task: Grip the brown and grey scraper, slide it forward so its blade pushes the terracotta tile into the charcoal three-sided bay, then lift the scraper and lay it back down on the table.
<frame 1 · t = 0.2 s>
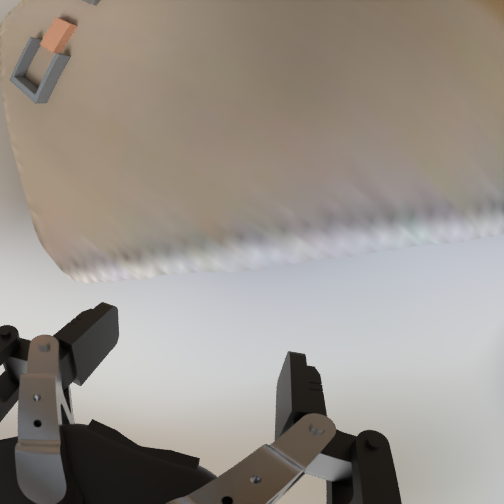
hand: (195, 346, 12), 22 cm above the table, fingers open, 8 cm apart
bay: (43, 66, 25), on the table
tile: (62, 36, 24), on the table
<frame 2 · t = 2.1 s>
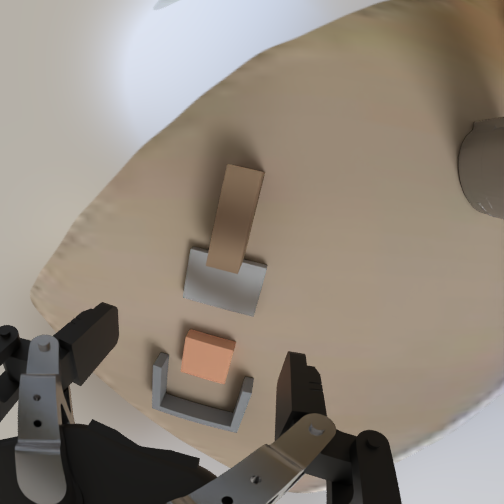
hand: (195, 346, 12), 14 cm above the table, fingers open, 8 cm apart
bay: (202, 386, 30), on the table
brown and grey scraper: (239, 213, 24), on the table
tile: (209, 351, 29), on the table
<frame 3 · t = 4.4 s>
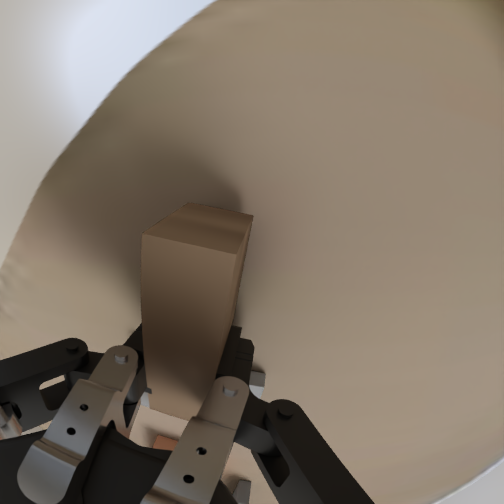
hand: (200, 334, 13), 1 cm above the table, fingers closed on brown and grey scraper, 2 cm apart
bay: (186, 482, 19), on the table
brown and grey scraper: (207, 296, 12), on the table, tilted 6°, touching gripper
tile: (189, 455, 17), on the table
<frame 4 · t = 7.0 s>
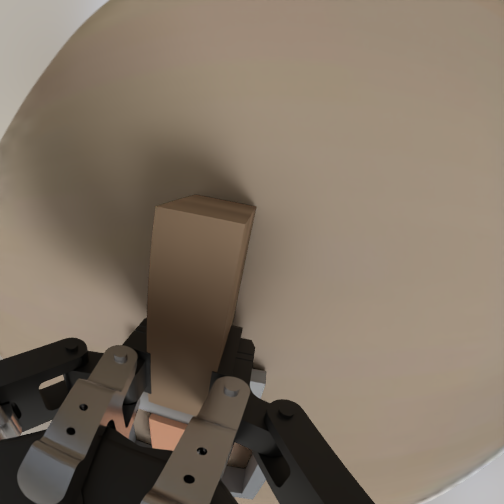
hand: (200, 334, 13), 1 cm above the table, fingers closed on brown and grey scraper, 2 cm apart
bay: (191, 435, 16), on the table
brown and grey scraper: (209, 288, 12), on the table, touching gripper
tile: (193, 428, 16), on the table
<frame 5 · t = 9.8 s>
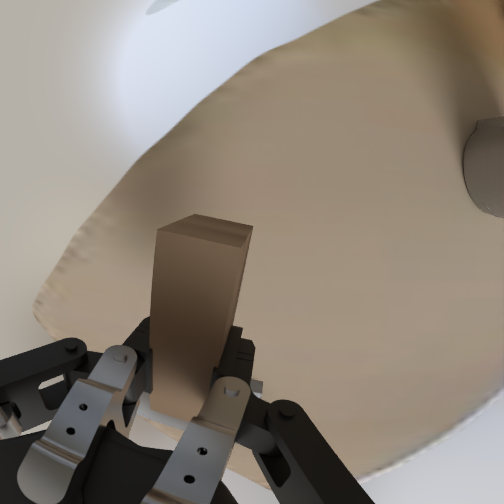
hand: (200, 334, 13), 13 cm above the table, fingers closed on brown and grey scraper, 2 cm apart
brown and grey scraper: (209, 303, 13), point 12 cm above the table, touching gripper
when the fingers open (2 cm above the table, at t = 11.8 s): brown and grey scraper drops 2 cm, on the table.
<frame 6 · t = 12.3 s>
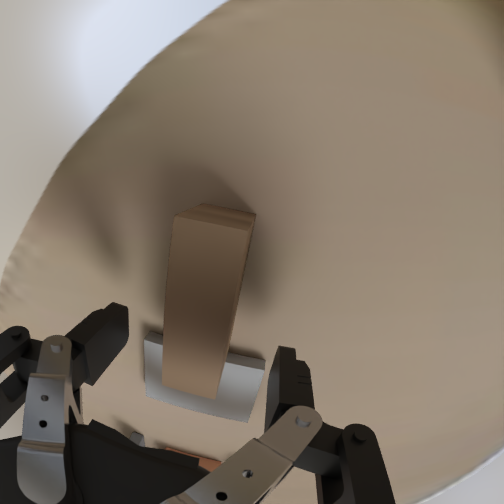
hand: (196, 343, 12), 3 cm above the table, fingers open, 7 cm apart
brown and grey scraper: (215, 285, 14), on the table
tile: (192, 463, 20), on the table
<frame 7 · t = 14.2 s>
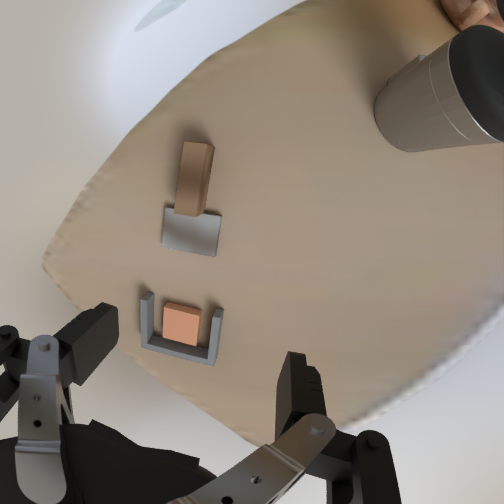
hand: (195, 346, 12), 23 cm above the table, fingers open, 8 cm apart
bay: (182, 322, 38), on the table
ceramic jug: (464, 20, 21), on the table
brown and grey scraper: (199, 178, 32), on the table
tile: (184, 320, 38), on the table
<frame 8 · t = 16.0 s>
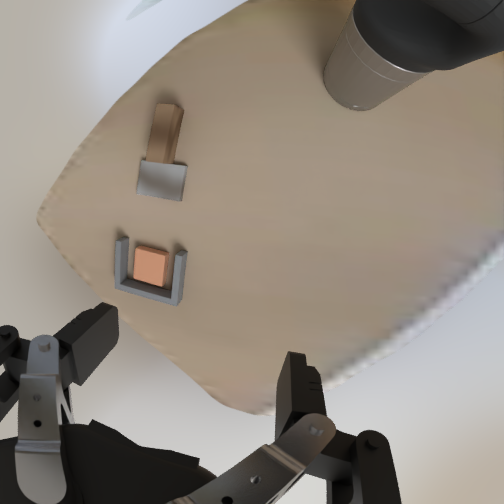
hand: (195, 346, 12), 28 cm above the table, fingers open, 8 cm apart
bay: (152, 265, 42), on the table
brown and grey scraper: (170, 136, 36), on the table
tile: (153, 263, 42), on the table
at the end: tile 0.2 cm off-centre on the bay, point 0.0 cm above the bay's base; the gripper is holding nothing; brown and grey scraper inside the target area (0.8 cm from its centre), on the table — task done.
